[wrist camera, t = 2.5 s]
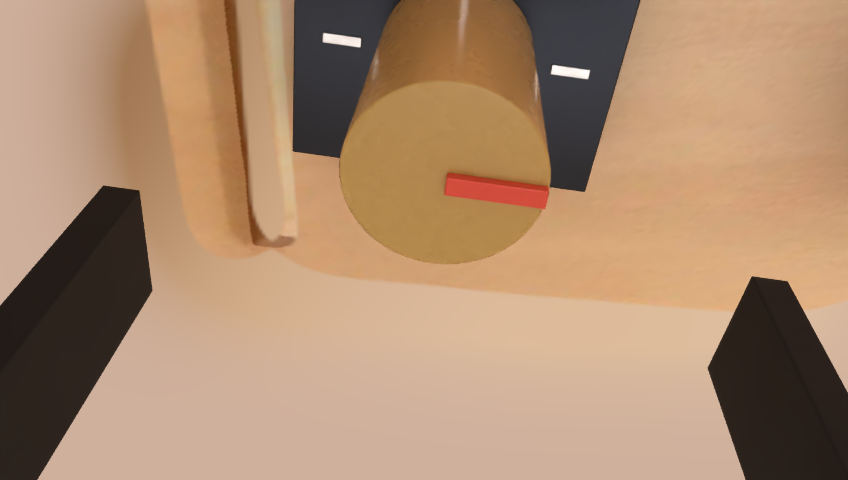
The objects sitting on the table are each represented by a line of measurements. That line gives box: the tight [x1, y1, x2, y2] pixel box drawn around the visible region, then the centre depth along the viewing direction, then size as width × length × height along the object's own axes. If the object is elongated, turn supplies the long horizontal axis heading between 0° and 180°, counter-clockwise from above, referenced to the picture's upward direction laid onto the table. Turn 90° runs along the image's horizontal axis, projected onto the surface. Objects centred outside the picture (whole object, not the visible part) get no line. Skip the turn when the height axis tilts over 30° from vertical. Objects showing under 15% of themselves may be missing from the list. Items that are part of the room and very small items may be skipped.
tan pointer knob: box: [339, 0, 551, 264], centre depth 23 cm, size 6×6×9 cm
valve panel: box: [293, 0, 640, 192], centre depth 28 cm, size 12×10×3 cm
